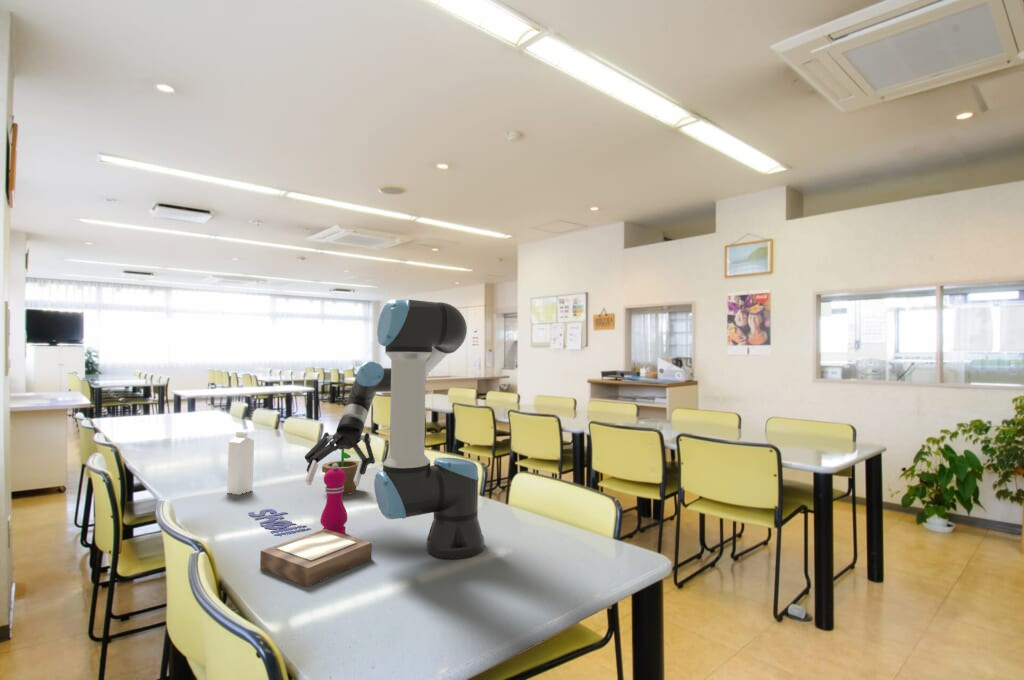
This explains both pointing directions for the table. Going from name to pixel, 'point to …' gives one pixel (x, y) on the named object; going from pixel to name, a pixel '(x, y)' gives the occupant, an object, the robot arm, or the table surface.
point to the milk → (240, 464)
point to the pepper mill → (334, 501)
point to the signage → (276, 522)
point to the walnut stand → (315, 556)
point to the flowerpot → (349, 470)
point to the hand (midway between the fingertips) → (331, 483)
